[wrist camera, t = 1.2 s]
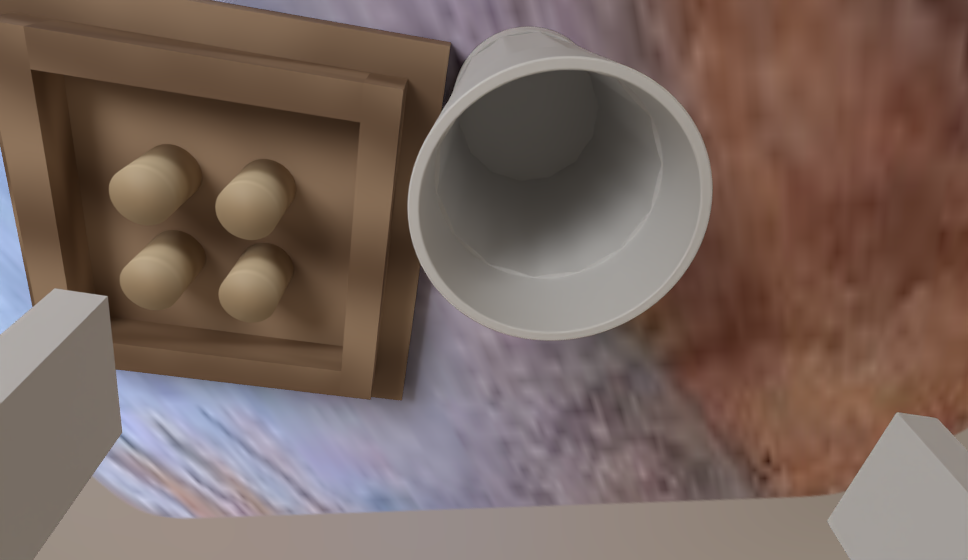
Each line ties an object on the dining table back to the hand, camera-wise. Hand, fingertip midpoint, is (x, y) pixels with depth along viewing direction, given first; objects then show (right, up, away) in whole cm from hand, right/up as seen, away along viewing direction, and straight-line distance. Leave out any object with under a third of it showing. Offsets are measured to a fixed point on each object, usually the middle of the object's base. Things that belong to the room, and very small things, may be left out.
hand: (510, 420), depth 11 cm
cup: (+1, +10, +17) cm, 19 cm away
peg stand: (-12, +6, +19) cm, 23 cm away
